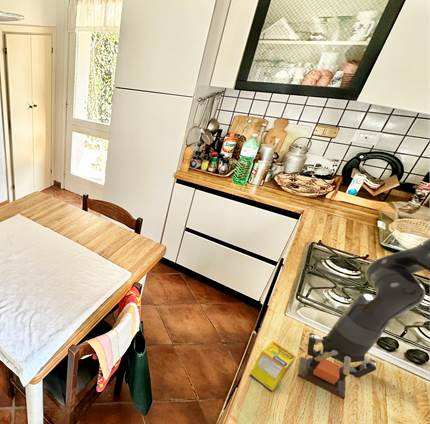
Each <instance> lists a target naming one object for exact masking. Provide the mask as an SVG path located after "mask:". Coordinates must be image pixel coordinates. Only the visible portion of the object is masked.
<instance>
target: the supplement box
mask: <svg viewBox="0 0 430 424" xmlns="http://www.w3.org/2000/svg"><path fill="white" fill-rule="evenodd" d="M296 358H297V355H295V354H294V353H293V352H291V351H289V350H288V349H286V348H285V347H283V346H282V345H281V344H279V343H278V342H276V341H274V340H272V341H271V342H270V343H269V344H268V345H266V347H264V348H263V350H262V351H261V352H260V354H259V356H258V357H257V360H256V361H255V363H254V365H253V367H252V369H251V370H250V373H249V377H251V378H252V379H253V380H254V381H256V382H257V383H259V384H260V385H261V386H263V387H264V388H265V389H266V390H268V391H269V392H270V393H272V392H273V391H274V390H275V389H276V388H277V387H278V386H279V384H280V383H281V382H282V380H283V379H284V378H285V376H286V374H287V373H288V371H289V370H290V368H291V366H292V365H293V363H294V362H295V360H296Z"/></svg>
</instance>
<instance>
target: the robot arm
mask: <svg viewBox="0 0 430 424" xmlns="http://www.w3.org/2000/svg"><path fill="white" fill-rule="evenodd" d="M426 271H427V272H429V273H430V238H428V239H426V240H425V241H422V242H421V243H420V244H418V245H417V246H414V247H411V248H408V249H404V250H401V251H398V252H395V253H391V254H389V255H386V256H383V257H380V258H377V259H376V260H373V261H372V262H371V263H370V264H369V265H368V266H367V267H366V268H365V270H364V277H365V279H366V281H367V282H368V283H369V285H370V286H371V287H372V289H373V290H374V291H375V293H376V294H372V293H361V294H358V295H357V296H356V297H355V298H354V299H353V301H352V302H351V303H350V304H349V306H348V307H347V308H346V310H345V311H344V312H343V313H342V314H341V315H340V316H339V318H338V319H337V320H336V322H335V324H334V325H333V326H332V328H331V329H330V331H329V332H328V334H327V335H324V336H322V337H321V336H318V335H317V336H316V334H315V333H314V332H309V334H308V341H307V342H308V343H307V353H306V354H307V355H308V356H310V357H311V358H312V359H311V360H310V366H311V369H313V370H314V369H315V368H316V367H317V365H318V364H319V363H320V361H321V360H323V359H326V360H328V359H330V358H332V359H335V360H337V361H338V362H340V363H342V366H340V369H339V379H338V381H339V380H340V381H343V380H344V379H345V380H346V378H347V376H353V377H354V378H356V379H359V378H361V377H363V376H366V375H368V374H371V373H373V372H374V371H376V370H377V361H376V360H375V359H373V358H370V359H369V358H367V357H366V355H367V354H368V353H369V351H370V350H371V349H372V348H373V346H374V345H375V344H376V343H378V342H379V339H380V338H381V336H382V334H383V332H384V331H385V329H386V328H387V327H388V326H389V324H390V323H392V321H393V319H395V318H397V317H399V316H401V315H403V314H405V313H407V312H408V311H411V310H412V309H414V308H415V307H417V306H419V305H420V304H421V303H423V301H424V299H425V297H426V289H425V286H424V285H423V283H421V281H420V280H419V279H418V278H417V277H416V276H415V274H418V273H421V272H426ZM320 343H321V345H322V346H321V347H320V348H319V349H317V350H316V349H315V346H317V345H319V344H320ZM360 362H361V363H360ZM351 363H360V364H358V365H356V366H353V367H351Z"/></svg>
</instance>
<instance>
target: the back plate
mask: <svg viewBox="0 0 430 424" xmlns="http://www.w3.org/2000/svg"><path fill="white" fill-rule="evenodd" d="M311 359H312V357H311V356H310V357H308V358H306V357H304V356H300V358H299V364H298V371H297V377H299V378H301V379H303V380H305V381H307V382H308V383H311V384H312V385H314V386H316V387H318V388H320V389H323V390H325V391H326V392H328V393H330V394H333V395H334V396H336V397H338V398H340V399H342V400H344V399H345V398H346V378H345V379H344V380H343V381H340V380H339V381H337V382H336V383H335V384H332V383H330V382H328V381H326V380H324V379H322V378H320V377H318V376H316V375H314V374H313V369H311V366H310V360H311Z"/></svg>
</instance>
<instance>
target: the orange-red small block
mask: <svg viewBox="0 0 430 424" xmlns="http://www.w3.org/2000/svg"><path fill="white" fill-rule="evenodd" d="M340 367H341V366H340V365H339V364H337V363H335V362H333V361H331V360H329V359H323V360H321V361H320V363H319V364H318V365H317V367H316V368H315V369H314V370H313V374H314V375H316V376H318V377H320V378H322V379H324V380H326V381H328V382H330V383H332V384H335V383H336V382H337V381H338V379H339V369H340Z"/></svg>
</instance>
